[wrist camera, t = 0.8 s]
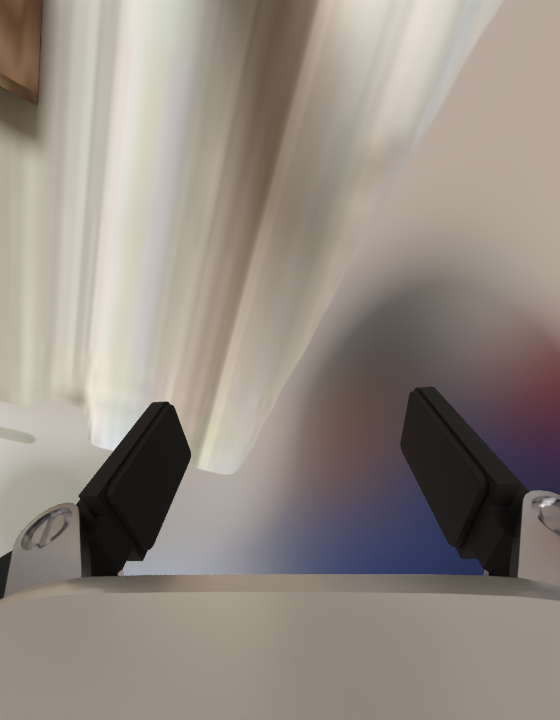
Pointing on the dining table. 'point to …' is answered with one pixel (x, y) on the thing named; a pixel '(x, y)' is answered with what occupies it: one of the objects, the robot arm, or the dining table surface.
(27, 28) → the box
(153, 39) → the dining table surface
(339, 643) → the robot arm
